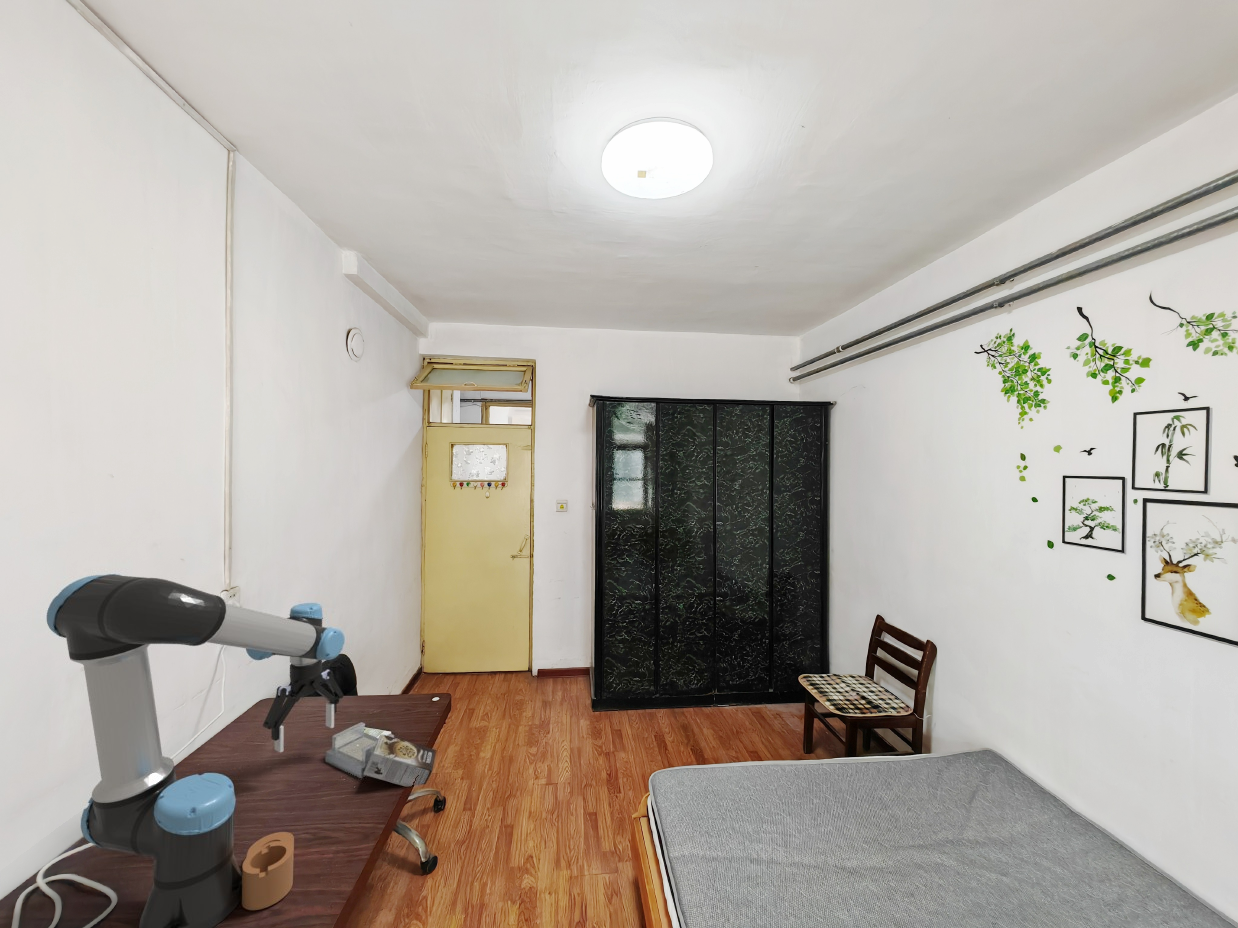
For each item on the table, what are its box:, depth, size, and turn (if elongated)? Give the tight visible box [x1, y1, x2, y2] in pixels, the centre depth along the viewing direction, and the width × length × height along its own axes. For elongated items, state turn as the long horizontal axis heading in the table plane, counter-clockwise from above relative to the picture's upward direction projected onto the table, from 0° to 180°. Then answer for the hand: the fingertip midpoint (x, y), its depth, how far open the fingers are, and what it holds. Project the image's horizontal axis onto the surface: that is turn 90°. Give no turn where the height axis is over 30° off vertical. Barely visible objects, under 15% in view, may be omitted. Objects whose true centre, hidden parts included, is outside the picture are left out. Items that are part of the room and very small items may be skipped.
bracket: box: [241, 831, 295, 911], centre depth 104 cm, size 18×8×7 cm, turn 32°
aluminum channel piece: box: [325, 721, 395, 779], centre depth 144 cm, size 12×16×7 cm
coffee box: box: [363, 733, 437, 787], centre depth 136 cm, size 9×6×16 cm
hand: (305, 737), depth 137 cm, fingers open, 13 cm apart
